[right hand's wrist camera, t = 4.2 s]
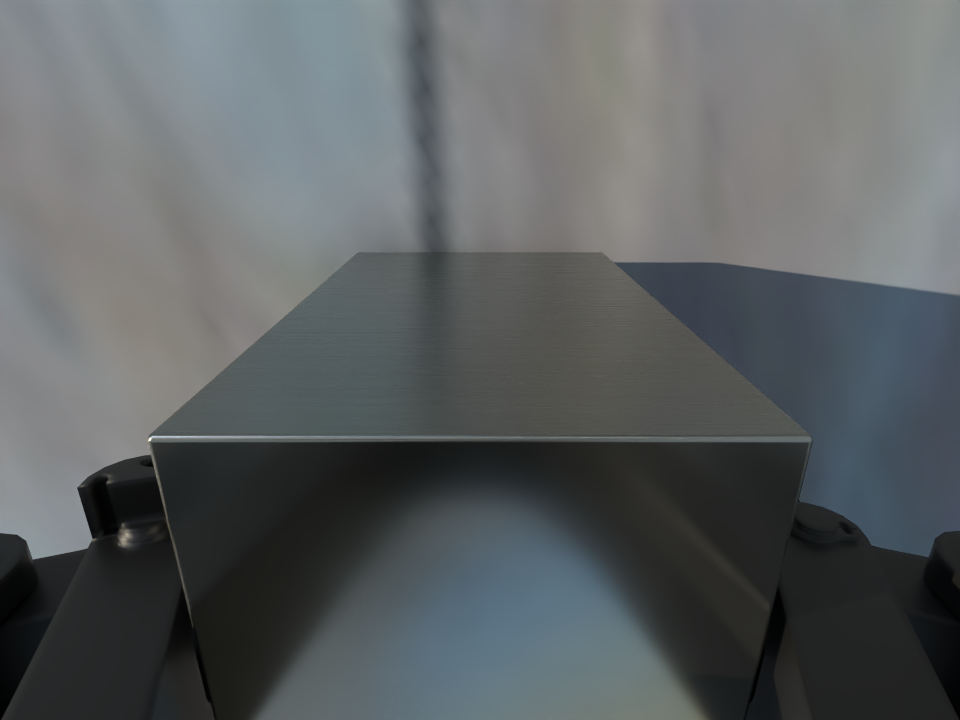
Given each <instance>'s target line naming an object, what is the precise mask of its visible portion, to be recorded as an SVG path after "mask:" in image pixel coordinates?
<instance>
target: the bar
mask: <svg viewBox="0 0 960 720" xmlns="http://www.w3.org/2000/svg"><path fill="white" fill-rule="evenodd" d="M812 442H813V441H812V436H811V435H810V434H809V433H808V432H807V431H806V430H805V429H804V428H802V427H801V426H800V425H799V424H798V423H797V422H796V421H794V420H793V419H792V418H791V417H790V416H789V415H788V414H786V413H785V412H784V411H783V410H782V409H781V408H780V407H778V406H777V405H776V404H775V403H774V402H773V401H772V400H770V399H769V398H768V397H767V396H766V395H765V394H764V393H762V392H761V391H760V390H759V389H758V388H757V387H755V386H754V385H753V384H752V383H751V382H750V381H749V380H747V379H746V378H745V377H744V376H743V375H742V374H741V373H739V372H738V371H737V370H736V369H735V368H734V367H733V366H731V365H730V364H729V363H728V362H727V361H726V360H725V359H723V358H722V357H721V356H720V355H719V354H718V353H717V352H715V351H714V350H713V349H712V348H711V347H710V346H709V345H707V344H706V343H705V342H704V341H703V340H702V339H701V338H699V337H698V336H697V335H696V334H695V333H694V332H693V331H691V330H690V329H689V328H688V327H687V326H686V325H685V324H683V323H682V322H681V321H680V320H679V319H678V318H677V317H675V316H674V315H673V314H672V313H671V312H670V311H669V310H667V309H666V308H665V307H664V306H663V305H662V304H661V303H659V302H658V301H657V300H656V299H655V298H654V297H653V296H651V295H650V294H649V293H648V292H647V291H646V290H645V289H643V288H642V287H641V286H640V285H639V284H638V283H637V282H635V281H634V280H633V279H632V278H631V277H630V276H629V275H627V274H626V273H625V272H624V271H623V270H622V269H621V268H619V267H618V266H617V265H616V264H615V263H614V262H613V261H611V260H610V259H609V258H608V257H607V256H606V255H605V254H603V253H357V254H356V255H355V256H353V257H352V258H351V259H350V260H349V261H348V262H347V263H345V264H344V265H343V266H342V267H341V268H340V269H339V270H337V271H336V272H335V273H334V274H333V275H332V276H331V277H329V278H328V279H327V280H326V281H325V282H324V283H323V284H321V285H320V286H319V287H318V288H317V289H316V290H315V291H313V292H312V293H311V294H310V295H309V296H308V297H307V298H305V299H304V300H303V301H302V302H301V303H300V304H299V305H297V306H296V307H295V308H294V309H293V310H292V311H291V312H289V313H288V314H287V315H286V316H285V317H284V318H283V319H281V320H280V321H279V322H278V323H277V324H276V325H275V326H273V327H272V328H271V329H270V330H269V331H268V332H267V333H265V334H264V335H263V336H262V337H261V338H260V339H259V340H257V341H256V342H255V343H254V344H253V345H252V346H251V347H249V348H248V349H247V350H246V351H245V352H244V353H243V354H241V355H240V356H239V357H238V358H237V359H236V360H235V361H233V362H232V363H231V364H230V365H229V366H228V367H227V368H225V369H224V370H223V371H222V372H221V373H220V374H219V375H217V376H216V377H215V378H214V379H213V380H212V381H211V382H209V383H208V384H207V385H206V386H205V387H204V388H203V389H201V390H200V391H199V392H198V393H197V394H196V395H195V396H193V397H192V398H191V399H190V400H189V401H188V402H187V403H186V404H184V405H183V406H182V407H181V408H180V409H179V410H178V411H176V412H175V413H174V414H173V415H172V416H171V417H170V418H168V419H167V420H166V421H165V422H164V423H163V424H162V425H160V426H159V427H158V428H157V429H156V430H155V431H154V432H152V433H151V434H150V435H149V438H148V444H149V448H150V452H151V457H152V461H153V465H154V469H155V473H156V477H157V482H158V486H159V490H160V494H161V498H162V502H163V507H164V511H165V515H166V519H167V523H168V527H169V531H170V536H171V540H172V544H173V548H174V552H175V556H176V561H177V565H178V569H179V573H180V577H181V581H182V586H183V590H184V594H185V598H186V602H187V606H188V611H189V615H190V619H191V623H192V627H193V631H194V635H195V640H196V644H197V648H198V652H199V656H200V660H201V665H202V669H203V673H204V677H205V681H206V685H207V690H208V694H209V698H210V702H211V706H212V710H213V715H214V719H215V720H746V716H747V712H748V708H749V704H750V700H751V695H752V691H753V687H754V683H755V679H756V675H757V671H758V666H759V662H760V658H761V654H762V650H763V646H764V641H765V637H766V633H767V629H768V625H769V621H770V617H771V612H772V608H773V604H774V600H775V596H776V592H777V587H778V583H779V579H780V575H781V571H782V567H783V563H784V558H785V554H786V550H787V546H788V542H789V538H790V534H791V529H792V525H793V521H794V517H795V513H796V509H797V504H798V500H799V496H800V492H801V488H802V484H803V480H804V475H805V471H806V467H807V463H808V459H809V455H810V450H811V446H812Z"/></svg>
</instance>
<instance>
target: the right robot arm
mask: <svg viewBox="0 0 960 720" xmlns="http://www.w3.org/2000/svg"><path fill="white" fill-rule="evenodd" d="M77 489H78V492H79V495H80V498H81V502H82V505H83V508H84V512H85V515H86V518H87V522H88V525H89V528H90V532H91V535H92V538H93V539H92V541H91V543H90V545H89V547H88V549H84V550H80V551H75V552H70V553H65V554H60V555H55V556H49V557H44V558H39V559H34V560H33V559H32V556H31V553H30V551H29V548H28V545H27V542H26V541H25V540H24V539H22V538H21V537H19V536H18V535H13V534H2V533H0V720H215V719H214V715H213V710H212V706H211V702H210V698H209V694H208V690H207V685H206V681H205V677H204V673H203V669H202V665H201V660H200V656H199V652H198V648H197V644H196V640H195V635H194V631H193V627H192V623H191V619H190V615H189V611H188V606H187V602H186V598H185V594H184V590H183V586H182V581H181V577H180V573H179V569H178V565H177V561H176V556H175V552H174V548H173V544H172V540H171V536H170V531H169V527H168V523H167V519H166V515H165V511H164V507H163V502H162V498H161V494H160V490H159V486H158V482H157V477H156V473H155V469H154V465H153V461H152V457H151V455H145V456H140V457H136V458H131V459H126V460H123V461H120V462H118V463H115V464H112V465H110V466H107V467H104V468H103V469H101V470H99V471H97V472H96V473H94V474H92V475H91V476H89V477H87V479H86V480H85V481H84V482H83V483H82V484H81V485H80V486H79V487H78V488H77ZM746 720H960V531H954V532H944V533H943V534H941V535H940V536H938V537H937V538H935V541H934V544H933V547H932V549H931V552H930V555H929V557H924V556H919V555H914V554H909V553H903V552H898V551H893V550H888V549H883V548H879V547H875V546H871V544H870V542H869V540H868V538H867V537H866V536H865V535H864V533H863V532H862V531H861V530H860V529H859V527H858V526H856V525H855V524H853V523H852V522H851V521H849V520H848V519H846V518H845V517H843V516H842V515H839V514H837V513H835V512H833V511H830V510H828V509H826V508H823V507H820V506H816V505H812V504H808V503H804V502H800V501H799V500H798V504H797V509H796V513H795V517H794V521H793V525H792V529H791V534H790V538H789V542H788V546H787V550H786V554H785V558H784V563H783V567H782V571H781V575H780V579H779V583H778V587H777V592H776V596H775V600H774V604H773V608H772V612H771V617H770V621H769V625H768V629H767V633H766V637H765V641H764V646H763V650H762V654H761V658H760V662H759V666H758V671H757V675H756V679H755V683H754V687H753V691H752V695H751V700H750V704H749V708H748V712H747V716H746Z"/></svg>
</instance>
